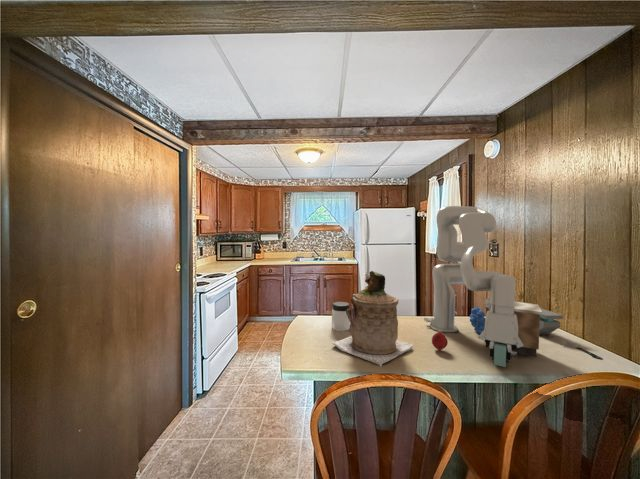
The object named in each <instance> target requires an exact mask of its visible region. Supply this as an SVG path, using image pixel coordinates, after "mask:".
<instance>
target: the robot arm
mask: <svg viewBox="0 0 640 479" xmlns="http://www.w3.org/2000/svg"><path fill="white" fill-rule="evenodd" d="M454 225H456V226H457V225H458V228H459V231H460V234H461V237H462V240H463V241H458V236H459V234H458V230H457V229H456V226H454ZM436 226H437V231H438V232H437V250H436V256H437V258H438V259H437V260H439V261H442V262H456V263H440V264H437V265H434V267H433V268H432V281H433V317H428V316H424V318H423V320H424V322H425V323H429V328H430V329H432V330H433V331H435V332H436V331H437V332H438V331H442V333H447V334H448V333H449V334H450V333H457V331H458V330H459V329H458V327H457V325H455V314H456V313H455V310H456V308H455V306H456V305H455V304H456V292H455V290H454V288H453V286H452V284H453V285H454V284H455V285H456V284H459V285H460V284H464V286H465V287H466V289H468V290H470V291H471V292H472V291H473V292H489V299H490V304H485V303H484V308H485V309H486V308H487V309H489V311H487V314H486V313H485V318H486V319H485V329H484V331H483V332H482V333H481V334H480V333H479V334H480V335H478V338H479V339H480V340H481V341H482V342H484V343H485V345H486V344H487V345H488V346H489V347H488V348H489V352H490V353H489V357H490V358H491V360H492V361H494V342H498V343H504V344H507V350H506V364H509V361H511V357H510V356H511V352H512V351H513V350H515V349H516V348H519V347H523V346H524V344H523V342H522V341H521V339H520V337H519V336H518V320H517V316H516V315H515V314H514V309H515V302H516V278H515V276H513V275H509V274H503V273H502V272H500V271H496V270H495V271H494V270H475V267H474V264H473V259H474V256H475V255H477V254H481V253H483V252H484V251H486V250H488V248H489V247H490V243H489V240H488V237H487V235H486V233H492V232H494V230H496V226H497V221H496V218H495V216H494V215H493V214H492V213H491V212H488V211H487V210H484V209H483V208H479V207H477V206H469V205H468V206H466V205H464V206H463V205H462V206H461V205H460V206H459V205H450V206H449V205H448V206H444V207H441V208H440V209H439V210H438V212H437V214H436Z"/></svg>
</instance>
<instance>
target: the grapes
mask: <svg viewBox="0 0 640 479" xmlns="http://www.w3.org/2000/svg"><path fill="white" fill-rule="evenodd" d="M470 313H471V314H469V322H470V325H471V326H472V327H473V328H474V332H475V333H477V334H481V333H482V332H483V331H484V329H485V319H486V312H484V311H483V310H481V309H480V307H478V306H475V307H474V308H471V310H470Z"/></svg>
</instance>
